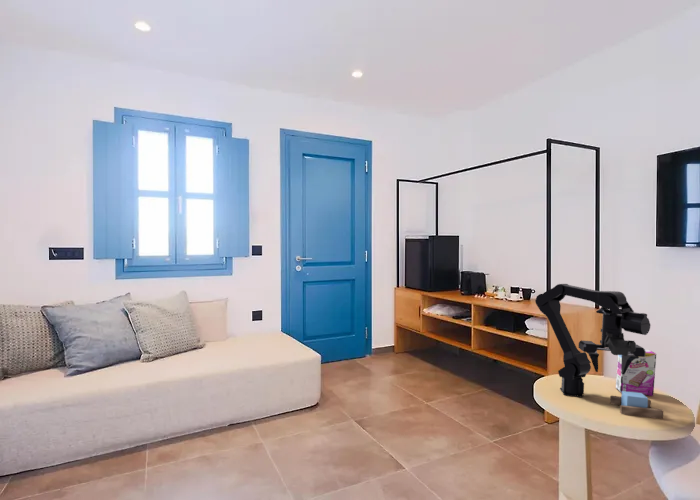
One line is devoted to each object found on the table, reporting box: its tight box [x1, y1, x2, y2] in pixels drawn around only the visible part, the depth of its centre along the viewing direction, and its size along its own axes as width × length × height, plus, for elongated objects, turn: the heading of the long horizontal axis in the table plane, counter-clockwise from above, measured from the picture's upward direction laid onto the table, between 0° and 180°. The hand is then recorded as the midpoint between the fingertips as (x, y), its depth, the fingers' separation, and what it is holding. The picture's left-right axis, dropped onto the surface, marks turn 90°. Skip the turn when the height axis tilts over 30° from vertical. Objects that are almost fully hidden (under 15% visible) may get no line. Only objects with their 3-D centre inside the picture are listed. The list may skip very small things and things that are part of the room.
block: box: [620, 391, 649, 408], centre depth 135 cm, size 6×4×6 cm
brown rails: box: [609, 395, 664, 419], centre depth 135 cm, size 12×9×2 cm
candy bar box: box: [615, 349, 657, 397], centre depth 151 cm, size 11×5×16 cm, turn 77°
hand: (609, 372), depth 137 cm, fingers open, 8 cm apart
